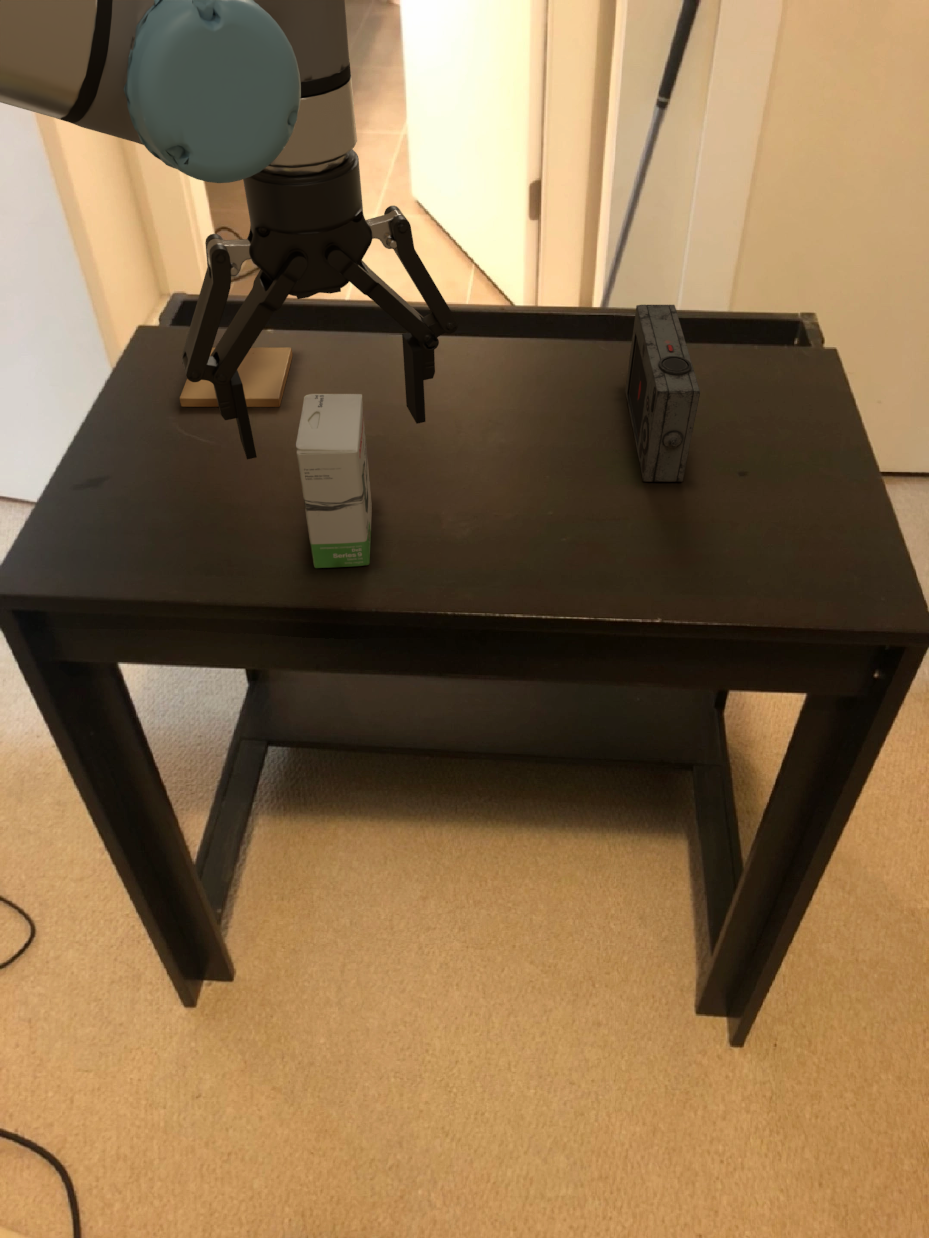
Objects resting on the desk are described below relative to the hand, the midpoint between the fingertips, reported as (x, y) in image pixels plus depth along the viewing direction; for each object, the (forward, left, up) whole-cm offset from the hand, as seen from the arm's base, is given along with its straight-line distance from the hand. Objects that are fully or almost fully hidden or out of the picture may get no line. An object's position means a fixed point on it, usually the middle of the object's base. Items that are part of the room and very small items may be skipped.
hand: (334, 431), depth 78 cm
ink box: (0, 0, -11) cm, 11 cm away
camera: (+32, +4, -11) cm, 34 cm away
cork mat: (-4, +28, -11) cm, 30 cm away
